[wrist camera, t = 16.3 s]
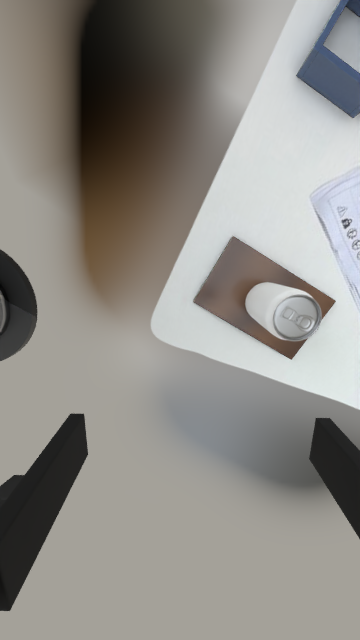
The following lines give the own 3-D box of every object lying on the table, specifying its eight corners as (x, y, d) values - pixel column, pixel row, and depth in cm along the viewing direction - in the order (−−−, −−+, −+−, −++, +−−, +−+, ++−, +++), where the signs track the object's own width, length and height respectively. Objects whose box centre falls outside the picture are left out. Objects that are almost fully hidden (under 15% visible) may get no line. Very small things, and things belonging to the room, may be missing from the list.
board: (193, 301, 41) (193, 302, 40) (232, 236, 38) (233, 236, 37) (289, 357, 43) (291, 359, 42) (332, 300, 40) (335, 301, 39)
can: (269, 327, 41) (304, 354, 29) (237, 309, 40) (258, 329, 28) (292, 293, 39) (337, 307, 28) (258, 274, 39) (290, 280, 27)
